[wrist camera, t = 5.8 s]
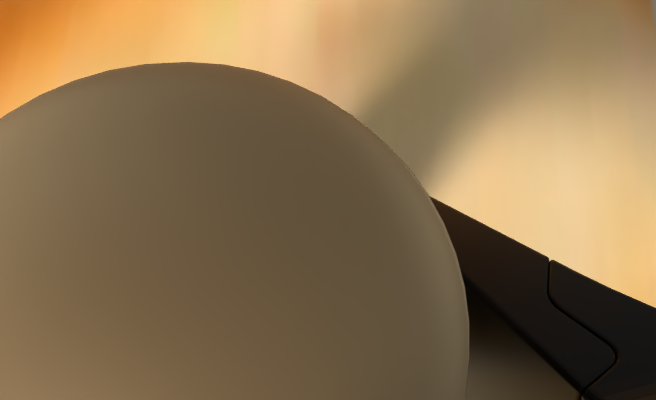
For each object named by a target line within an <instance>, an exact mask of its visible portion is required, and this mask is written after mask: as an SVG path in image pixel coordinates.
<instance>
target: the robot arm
mask: <svg viewBox="0 0 656 400" xmlns="http://www.w3.org/2000/svg"><path fill="white" fill-rule="evenodd" d="M429 197H430V196H429ZM430 199H431V200H432V202H433V204H434V206H435V208H436V210H437V211H438V213H439V215H440V217H441V219H442V221H443V222H444V224H445V227H446V229H447V232H448V235H449V237H450V240H451V242H452V245H453V247H454V250H455V252H456V255H457V259H458V263H459V267H460V270H461V274H462V278H463V282H464V286H465V292H466V300H467V308H468V316H469V364H468V374H467V382H466V390H465V398H464V400H656V308H655V307H652V306H650V305H647V304H645V303H643V302H641V301H638V300H636V299H634V298H632V297H629V296H627V295H625V294H623V293H620V292H618V291H616V290H613V289H611V288H609V287H607V286H605V285H603V284H601V283H599V282H597V281H594V280H592V279H590V278H588V277H586V276H584V275H582V274H580V273H578V272H576V271H574V270H572V269H570V268H568V267H566V266H564V265H562V264H560V263H559V262H557V261H555V260H551V261H550V262H549V258H548V257H547V256H545V255H543V254H541V253H539V252H537V251H535V250H533V249H531V248H529V247H527V246H525V245H523V244H521V243H519V242H517V241H516V240H514V239H512V238H510V237H508V236H506V235H504V234H502V233H500V232H498V231H496V230H494V229H492V228H490V227H488V226H486V225H485V224H483V223H481V222H479V221H477V220H475V219H473V218H471V217H469V216H467V215H465V214H463V213H461V212H459V211H457V210H455V209H454V208H452V207H450V206H448V205H446V204H444V203H442V202H440V201H438V200H436V199H434V198H432V197H430Z"/></svg>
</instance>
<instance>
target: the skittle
mask: <svg viewBox="0 0 656 400" xmlns="http://www.w3.org/2000/svg"><path fill="white" fill-rule="evenodd" d="M468 364H469V316H468V308H467V300H466V292H465V286H464V282H463V278H462V274H461V270H460V267H459V263H458V259H457V255H456V252H455V250H454V247H453V245H452V242H451V240H450V237H449V235H448V232H447V229H446V227H445V224H444V222H443V221H442V219H441V217H440V215H439V213H438V211H437V210H436V208H435V206H434V204H433V202H432V200H431V199H430V197H429V195H428V194H427V192H426V191H425V189H424V188H423V187H422V185H421V184H420V183H419V181H418V180H417V178H416V177H415V176H414V174H413V173H412V171H411V170H410V169H409V168H408V167H407V165H406V164H405V163H404V162H403V161H402V160H401V159H400V158H399V157H398V156H397V155H396V154H395V153H394V152H393V151H392V149H391V148H390V147H389V146H388V145H387V144H386V143H384V142H383V141H382V140H381V139H380V138H379V137H377V136H376V135H375V134H374V133H373V132H371V131H370V130H369V129H368V128H367V127H365V126H364V125H363V124H362V123H360V122H359V121H358V120H357V119H356V118H354V117H353V116H352V115H351V114H349V113H347V112H346V111H344V110H343V109H341V108H339V107H338V106H336V105H335V104H333V103H332V102H330V101H328V100H327V99H325V98H324V97H322V96H320V95H318V94H316V93H313V92H311V91H309V90H307V89H305V88H303V87H301V86H299V85H296V84H294V83H292V82H290V81H286V80H283V79H280V78H277V77H274V76H271V75H268V74H265V73H262V72H259V71H254V70H249V69H244V68H239V67H234V66H229V65H222V64H208V63H194V62H180V63H160V64H144V65H138V66H132V67H126V68H120V69H114V70H109V71H105V72H102V73H98V74H95V75H92V76H88V77H85V78H81V79H78V80H75V81H72V82H70V83H67V84H65V85H63V86H60V87H58V88H56V89H53V90H51V91H49V92H46V93H44V94H42V95H39V96H38V97H36V98H34V99H32V100H31V101H29V102H27V103H25V104H24V105H22V106H20V107H18V108H17V109H15V110H13V111H11V112H10V113H8V114H6V115H5V116H3V117H2V118H1V119H0V400H464V398H465V390H466V382H467V374H468Z"/></svg>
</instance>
